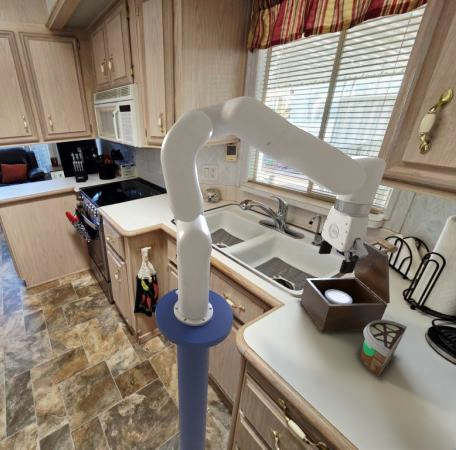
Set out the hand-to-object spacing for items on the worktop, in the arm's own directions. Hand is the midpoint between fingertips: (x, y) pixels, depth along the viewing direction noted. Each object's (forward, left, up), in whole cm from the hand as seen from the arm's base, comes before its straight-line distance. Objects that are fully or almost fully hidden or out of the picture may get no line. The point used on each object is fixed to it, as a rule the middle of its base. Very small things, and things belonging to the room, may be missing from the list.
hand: (334, 262), depth 71 cm
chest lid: (+5, +8, -2) cm, 10 cm away
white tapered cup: (+2, +3, -19) cm, 20 cm away
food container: (+16, -3, -20) cm, 25 cm away
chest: (+3, +4, -20) cm, 20 cm away
